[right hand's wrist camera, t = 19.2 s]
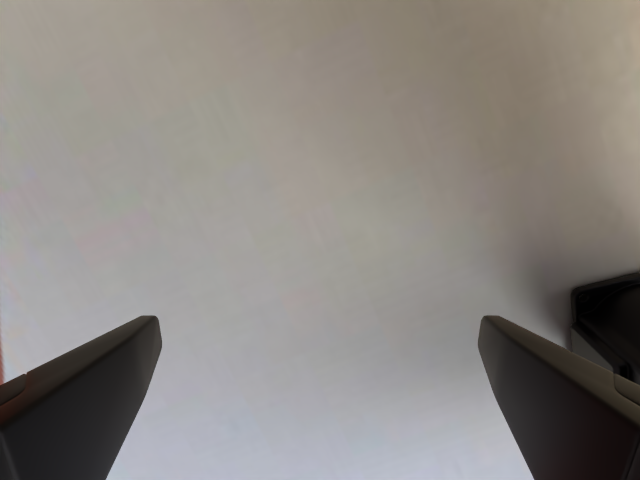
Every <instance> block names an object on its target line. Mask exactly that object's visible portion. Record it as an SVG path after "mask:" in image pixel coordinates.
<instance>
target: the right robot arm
mask: <svg viewBox="0 0 640 480" xmlns="http://www.w3.org/2000/svg"><path fill="white" fill-rule="evenodd" d="M582 294H584V296H583V297H582V298H579V297H580V296H581V295H582ZM571 306H572V318H573V323H572V324H571V327H570V330H571V341H572V352H571V351H569V350H567V349H565V348H563V347H561V346H559V345H557V344H555V343H553V342H551V341H549V340H547V339H545V338H542V337H540V336H538V335H536V334H534V333H532V332H530V331H528V330H526V329H524V328H522V327H520V326H518V325H516V324H514V323H512V322H510V321H508V320H506V319H504V318H502V317H500V316H484V317H483V318H482V320H481V326H480V332H479V338H478V348H479V352H480V355H481V358H482V361H483V364H484V367H485V370H486V373H487V375H488V378H489V381H490V384H491V387H492V390H493V393H494V395H495V398H496V400H497V402H498V405H499V407H500V409H501V411H502V413H503V415H504V417H505V419H506V421H507V423H508V425H509V428H510V430H511V432H512V434H513V436H514V438H515V440H516V442H517V444H518V446H519V448H520V451H521V453H522V455H523V457H524V459H525V461H526V463H527V465H528V467H529V469H530V471H531V474H532V476H533V478H534V480H640V273H636V274H632V275H628V276H624V277H619V278H615V279H611V280H607V281H603V282H599V283H594V284H590V285H586V286H582V287H578V288H576V289H575V290H573V292H572V293H571ZM161 348H162V338H161V332H160V326H159V320H158V318H157V317H156V316H140V317H138V318H136V319H134V320H132V321H130V322H128V323H126V324H124V325H122V326H120V327H118V328H116V329H114V330H112V331H110V332H108V333H106V334H104V335H102V336H100V337H98V338H95V339H93V340H91V341H89V342H87V343H85V344H83V345H81V346H79V347H77V348H75V349H73V350H71V351H69V352H67V353H65V354H63V355H61V356H59V357H57V358H55V359H53V360H51V361H49V362H47V363H45V364H43V365H41V366H39V367H37V368H35V369H33V370H31V371H29V372H27V374H23V375H21V376H19V377H17V378H15V379H13V380H11V381H8V382H6V383H4V384H2V385H0V480H106V478H107V476H108V474H109V471H110V469H111V467H112V465H113V463H114V461H115V459H116V457H117V455H118V453H119V451H120V448H121V446H122V444H123V442H124V440H125V438H126V436H127V434H128V432H129V430H130V428H131V425H132V423H133V421H134V419H135V417H136V415H137V413H138V411H139V409H140V407H141V405H142V402H143V400H144V398H145V395H146V393H147V390H148V387H149V384H150V381H151V378H152V375H153V373H154V370H155V367H156V364H157V361H158V358H159V355H160V352H161Z"/></svg>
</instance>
